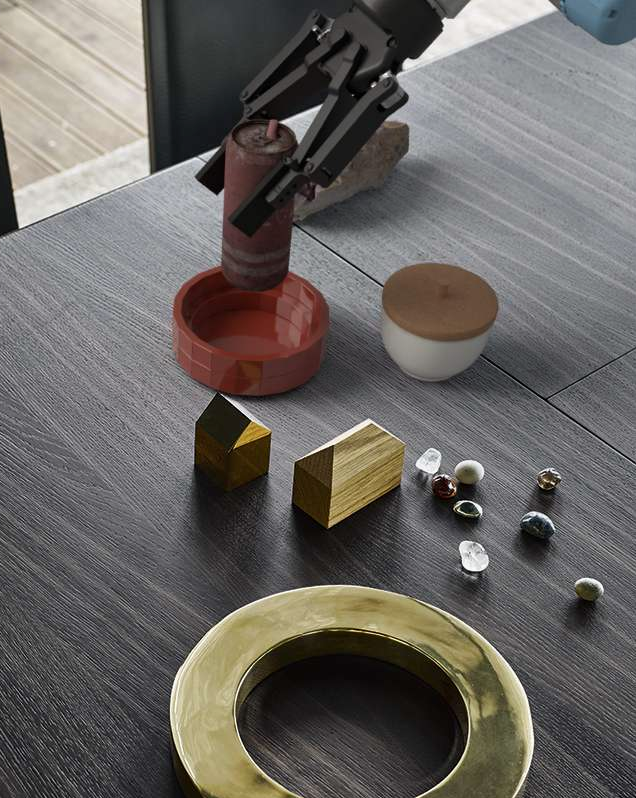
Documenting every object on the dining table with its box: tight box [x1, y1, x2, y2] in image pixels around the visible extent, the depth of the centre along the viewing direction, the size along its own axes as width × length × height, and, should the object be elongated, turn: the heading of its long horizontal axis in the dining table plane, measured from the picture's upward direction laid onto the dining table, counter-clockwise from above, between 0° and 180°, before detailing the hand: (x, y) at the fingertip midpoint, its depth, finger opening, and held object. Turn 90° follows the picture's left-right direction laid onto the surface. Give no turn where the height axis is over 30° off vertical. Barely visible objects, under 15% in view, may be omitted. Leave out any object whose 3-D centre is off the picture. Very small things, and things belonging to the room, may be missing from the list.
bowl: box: [171, 265, 331, 397], centre depth 119 cm, size 15×15×5 cm
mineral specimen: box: [293, 119, 411, 223], centre depth 138 cm, size 20×10×10 cm
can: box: [220, 119, 300, 292], centre depth 109 cm, size 6×6×14 cm
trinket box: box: [379, 262, 500, 383], centre depth 117 cm, size 11×11×9 cm
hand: (222, 206), depth 107 cm, fingers closed on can, 6 cm apart
